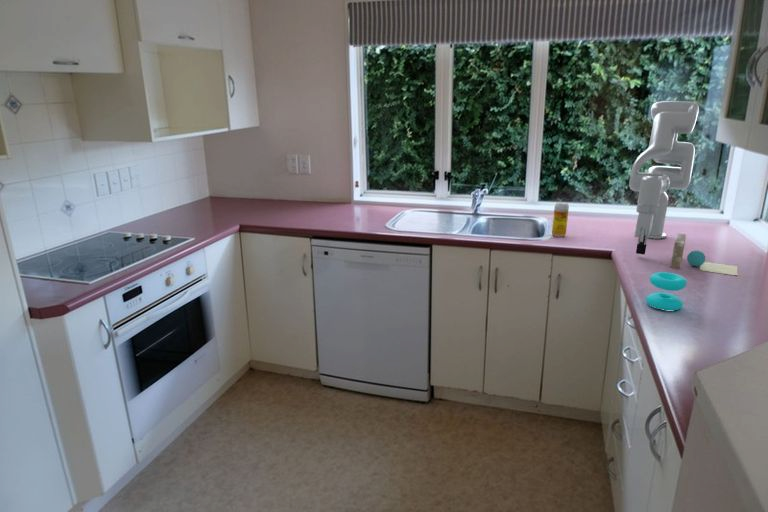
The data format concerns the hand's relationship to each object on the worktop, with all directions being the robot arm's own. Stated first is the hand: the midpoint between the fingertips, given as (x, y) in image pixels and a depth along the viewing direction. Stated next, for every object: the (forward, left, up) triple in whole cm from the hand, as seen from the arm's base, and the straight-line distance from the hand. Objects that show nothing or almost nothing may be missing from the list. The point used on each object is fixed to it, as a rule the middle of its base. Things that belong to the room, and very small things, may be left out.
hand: (640, 253), depth 212 cm
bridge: (0, +13, -2) cm, 13 cm away
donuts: (+51, +13, -2) cm, 53 cm away
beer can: (-16, -36, -2) cm, 39 cm away
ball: (+1, +19, +2) cm, 19 cm away
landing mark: (0, +27, -2) cm, 27 cm away
